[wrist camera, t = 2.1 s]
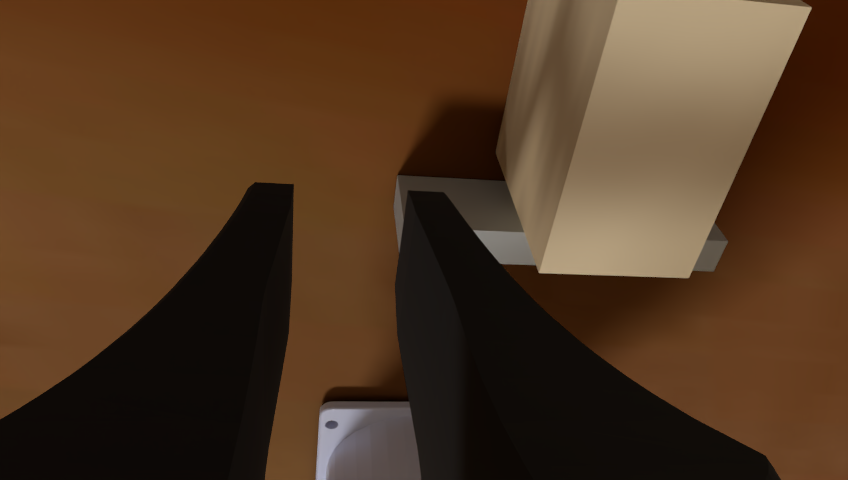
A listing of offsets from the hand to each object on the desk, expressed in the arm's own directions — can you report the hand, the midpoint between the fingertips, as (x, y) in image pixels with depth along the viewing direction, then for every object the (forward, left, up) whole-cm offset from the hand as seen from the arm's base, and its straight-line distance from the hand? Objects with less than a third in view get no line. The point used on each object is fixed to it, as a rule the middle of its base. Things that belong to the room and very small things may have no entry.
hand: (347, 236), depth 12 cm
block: (0, -7, -10) cm, 12 cm away
